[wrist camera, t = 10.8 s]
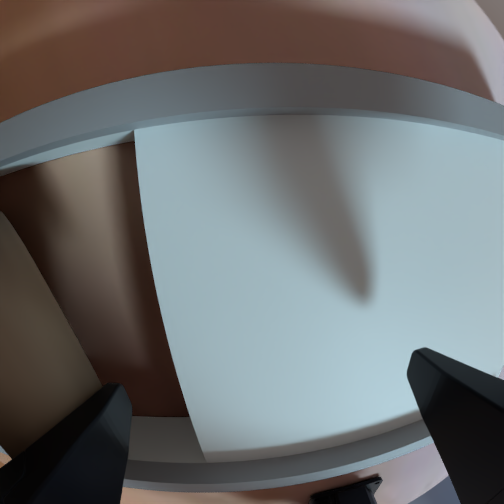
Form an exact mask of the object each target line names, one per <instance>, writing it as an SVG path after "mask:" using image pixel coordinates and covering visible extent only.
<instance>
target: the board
mask: <svg viewBox="0 0 504 504" xmlns="http://www.w3.org/2000/svg"><path fill="white" fill-rule="evenodd" d="M131 141H135V149H136V160H137V170H138V180H139V188H140V196H141V204H142V212H143V219H144V225H145V232H146V238H147V244H148V250H149V256H150V261H151V267H152V272H153V277H154V282H155V287H156V292H157V296H158V301H159V306H160V310H161V314H162V319H163V323H164V327H165V331H166V335H167V339H168V343H169V347H170V351H171V355H172V358H173V362H174V366H175V369H176V373H177V376H178V380H179V383H180V386H181V390H182V393H183V396H184V399H185V403H186V406H187V409H188V412H189V415H190V417H144V416H132V419H131V430H130V442H129V453H128V460H127V466H126V471H125V476H124V482H123V487H129V488H137V489H145V490H156V491H170V492H235V491H249V490H260V489H269V488H277V487H284V486H290V485H296V484H302V483H307V482H313V481H317V480H322V479H327V478H331V477H335V476H339V475H343V474H347V473H351V472H354V471H358V470H361V469H364V468H368V467H371V466H374V465H377V464H380V463H383V462H386V461H389V460H392V459H394V458H397V457H400V456H402V455H405V454H408V453H410V452H412V451H415V450H417V449H420V448H422V447H424V446H427V445H429V444H431V443H433V442H434V441H433V439H432V437H431V435H430V433H429V431H428V429H427V427H426V425H425V423H424V421H423V418H422V416H421V413H420V411H419V408H418V405H417V403H416V400H415V397H414V395H413V392H412V389H411V387H410V384H409V382H408V379H407V368H408V365H409V362H410V358H411V354H412V352H413V351H414V350H416V349H419V348H423V347H427V348H429V349H432V350H434V351H436V352H439V353H441V354H443V355H445V356H448V357H450V358H452V359H455V360H457V361H459V362H462V363H464V364H466V365H469V366H471V367H474V368H476V369H478V370H481V371H483V372H485V373H488V374H490V375H493V376H495V377H497V378H498V376H499V374H500V372H501V370H502V368H503V365H504V106H503V105H501V104H498V103H496V102H493V101H490V100H488V99H485V98H482V97H479V96H477V95H474V94H471V93H468V92H465V91H461V90H458V89H455V88H451V87H448V86H444V85H441V84H437V83H433V82H429V81H425V80H421V79H417V78H412V77H408V76H403V75H398V74H392V73H387V72H381V71H375V70H368V69H361V68H353V67H344V66H333V65H321V64H303V63H245V64H227V65H215V66H204V67H195V68H187V69H180V70H173V71H166V72H160V73H155V74H149V75H144V76H139V77H134V78H130V79H125V80H121V81H117V82H113V83H109V84H105V85H101V86H98V87H94V88H91V89H87V90H84V91H81V92H77V93H74V94H71V95H68V96H65V97H62V98H59V99H56V100H54V101H51V102H48V103H46V104H43V105H40V106H38V107H35V108H33V109H30V110H28V111H26V112H23V113H21V114H19V115H16V116H14V117H12V118H10V119H8V120H5V121H3V122H1V123H0V176H3V175H6V174H9V173H12V172H15V171H18V170H21V169H24V168H27V167H30V166H33V165H36V164H40V163H43V162H46V161H50V160H53V159H57V158H61V157H64V156H68V155H72V154H76V153H80V152H84V151H88V150H93V149H97V148H101V147H106V146H111V145H116V144H121V143H126V142H131ZM0 452H2V453H4V454H6V455H8V454H7V453H6V452H5V451H4V449H3V448H2V447H1V446H0Z"/></svg>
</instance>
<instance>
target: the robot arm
mask: <svg viewBox="0 0 504 504" xmlns="http://www.w3.org/2000/svg"><path fill="white" fill-rule="evenodd" d="M407 379H408V382H409V384H410V387H411V389H412V392H413V395H414V397H415V400H416V403H417V405H418V408H419V411H420V413H421V416H422V418H423V421H424V423H425V425H426V427H427V429H428V431H429V433H430V435H431V437H432V439H433V441H434V443H435V446H436V448H437V450H438V452H439V454H440V456H441V459H442V461H443V463H444V465H445V467H446V470H447V472H448V474H449V476H450V479H451V481H452V484H453V486H454V488H455V491H456V493H457V496H458V498H459V500H460V503H461V504H504V380H502V379H500V378H497V377H495V376H493V375H490V374H488V373H485V372H483V371H481V370H478V369H476V368H474V367H471V366H469V365H466V364H464V363H462V362H459V361H457V360H455V359H452V358H450V357H448V356H445V355H443V354H441V353H439V352H436V351H434V350H432V349H429V348H427V347H423V348H419V349H416V350H414V351H413V352H412V354H411V358H410V362H409V365H408V368H407ZM131 419H132V404H131V402H130V399H129V397H128V395H127V393H126V391H125V388H124V386H123V385H122V384H120V383H107V384H106V385H104V386H103V387H102V388H101V389H99V390H98V391H97V392H96V393H94V394H93V395H92V396H91V397H90V398H88V399H87V400H86V401H85V402H83V403H82V404H81V405H80V406H78V407H77V408H76V409H75V410H74V411H72V412H71V413H70V414H69V415H67V416H66V417H65V418H64V419H62V420H61V421H60V422H59V423H57V424H56V425H55V426H54V427H52V428H51V429H50V430H49V431H47V432H46V433H45V434H44V435H43V436H41V437H40V438H39V439H38V440H36V441H35V442H34V443H32V444H31V445H30V446H29V447H27V448H26V449H25V451H22V452H21V453H20V454H19V455H17V456H16V457H15V458H13V459H12V460H11V461H9V462H8V463H7V464H5V465H4V466H3V467H1V468H0V504H120V500H121V494H122V488H123V482H124V476H125V471H126V466H127V460H128V453H129V442H130V430H131ZM382 481H383V480H382V478H381V477H377V478H374V479H371V480H368V481H365V482H361V483H358V484H355V485H351V486H347V487H344V488H340V489H336V490H332V491H328V492H323V493H319V494H314V495H312V496H311V497H310V500H309V504H377V502H376V500H375V497H374V493H375V492H376V490H377V489H378V487H379V486H380V484H381V483H382Z"/></svg>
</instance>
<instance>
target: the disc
mask: <svg viewBox="0 0 504 504" xmlns="http://www.w3.org/2000/svg"><path fill="white" fill-rule="evenodd" d="M101 388H102V384H101V382H100V380H99V379H98V377H97V375H96V373H95V371H94V369H93V367H92V365H91V363H90V361H89V360H88V358H87V356H86V354H85V352H84V351H83V349H82V347H81V345H80V343H79V341H78V339H77V338H76V336H75V334H74V332H73V330H72V329H71V327H70V325H69V323H68V321H67V320H66V318H65V316H64V314H63V312H62V310H61V309H60V307H59V305H58V303H57V302H56V300H55V298H54V296H53V294H52V293H51V291H50V289H49V287H48V285H47V283H46V282H45V280H44V278H43V276H42V275H41V273H40V271H39V269H38V268H37V266H36V264H35V262H34V260H33V259H32V257H31V255H30V254H29V252H28V250H27V249H26V247H25V245H24V243H23V242H22V240H21V239H20V237H19V236H18V234H17V232H16V231H15V229H14V228H13V226H12V225H11V223H10V222H9V221H8V219H7V218H6V217H5V215H4V214H3V213H2V212H1V211H0V446H1V447H2V448H3V449H4V451H5V452H6V453H7V454H8V455H9V456H10V457H11V458H12V459H13V458H15V457H16V456H17V455H19V454H20V453H21V452H22V451H25V449H26V448H27V447H29V446H30V445H31V444H32V443H34V442H35V441H36V440H38V439H39V438H40V437H41V436H43V435H44V434H45V433H46V432H47V431H49V430H50V429H51V428H52V427H54V426H55V425H56V424H57V423H59V422H60V421H61V420H62V419H64V418H65V417H66V416H67V415H69V414H70V413H71V412H72V411H74V410H75V409H76V408H77V407H78V406H80V405H81V404H82V403H83V402H85V401H86V400H87V399H88V398H90V397H91V396H92V395H93V394H94V393H96V392H97V391H98V390H99V389H101Z"/></svg>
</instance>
